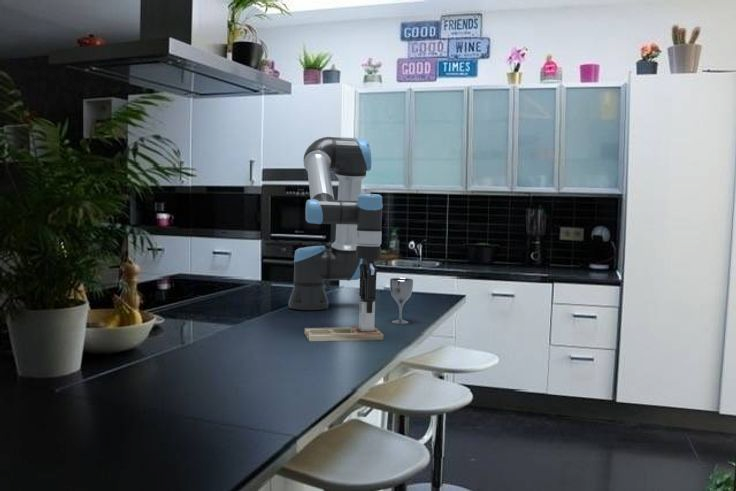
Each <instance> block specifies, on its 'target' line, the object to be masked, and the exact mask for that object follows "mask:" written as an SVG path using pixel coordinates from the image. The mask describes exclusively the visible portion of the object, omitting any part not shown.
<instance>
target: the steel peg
mask: <svg viewBox="0 0 736 491" xmlns="http://www.w3.org/2000/svg"><path fill="white" fill-rule="evenodd" d="M358 301H359V302H358V327H359V330H360V331H374V327H375V320H376V319H375V318H376V316H375V315H376V314H375V313H376V300H375V301H374V303H373V324H364V302H363V300H362V299H359V300H358Z"/></svg>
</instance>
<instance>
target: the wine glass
mask: <svg viewBox="0 0 736 491" xmlns="http://www.w3.org/2000/svg"><path fill="white" fill-rule="evenodd" d="M413 286H414V279H413V278H408V277H406V278H403V277H391V278H389V287H390V295H391V297H393V299H394V301H395V302H396V304H397V305H398V310H399V311H398V313H399V314H398V315H399V317H398V319H396V320H391V323H393V324H397V325H404V324H408V323H409V321H407V320H404V319H403V318H402V316H403V315H402V314H403V307H404V305H405V303H406V302H407V301H408V299H409V298H410V297H411V296H412V293H413V288H414V287H413Z"/></svg>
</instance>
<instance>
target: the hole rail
mask: <svg viewBox="0 0 736 491" xmlns="http://www.w3.org/2000/svg"><path fill="white" fill-rule="evenodd" d="M304 335H305V336H306V338H307V340H308V342H343V341H344V342H348V341H350V342H351V341H354V342H355V341H384V334H383V332H381V331H380V330H379V329H378V328H377V327H375V326H374V331H360V330H359V326H350V327H348V326H347V327H345V326H344V327H304Z"/></svg>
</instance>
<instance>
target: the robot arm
mask: <svg viewBox="0 0 736 491" xmlns="http://www.w3.org/2000/svg"><path fill="white" fill-rule="evenodd" d="M303 166H304V169H305V170H306V172H307V178H308V187H309V197H310V199H307V200H306V202H305V221H306V222H307V223H308V224H317V225H335V240H334V241H333V242H332V243H331V246H330V249H326V248H327V247H326V246H325V245H314V246H305V247H300V248H297V249H296V250H294V260H293V263H294V265H293V266H294V268H293V287H292V292H291V293H290V297H289V300H288V308H289V309H293V310H299V311H319V310H327V309H328V308H329V299H328V296H327V295H328V294H327V293H326V289H325V281H347V282H348V281H358V280H359V293H358V294H359V297H360V300H363V302H364V324H373V303H374V301H375V302H376V299H377V298H376V296H377V295H376V294H377V275H378V274H377V273H378V268H377V265H376V264H375V260H378V259H381V258H382V247H381V245H382V237H383V236H382V234H383V233H382V221H383V220H382V219H383V218H382V217H383V207H384V205H383V196H382V195H381V194H374V193H362V183H363V182H362V181H363V179H364V178H366V177H367V172H369V171H371V170H372V152H371V146H370V143H369V141H368V140H367V139H365V138H359V137H333V136H325V137H321V138H317V139H316V140H315V141H313V142H312V143H311V144H310V145H309V146H308V147H307V148H306V150H305V152H304V155H303ZM330 170H334V175H335V176H336V178H338V187H337V199H335V196H334V190H333V184H332V179H331V178H332V177H331V172H330Z"/></svg>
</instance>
